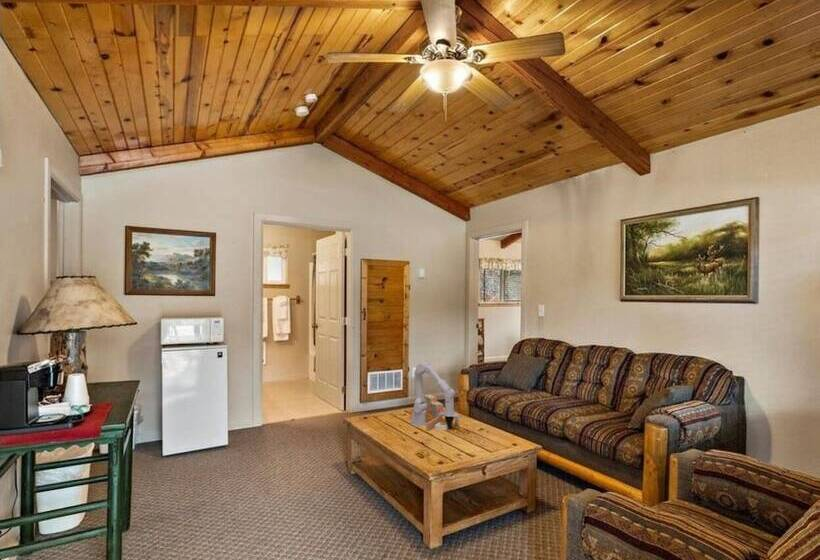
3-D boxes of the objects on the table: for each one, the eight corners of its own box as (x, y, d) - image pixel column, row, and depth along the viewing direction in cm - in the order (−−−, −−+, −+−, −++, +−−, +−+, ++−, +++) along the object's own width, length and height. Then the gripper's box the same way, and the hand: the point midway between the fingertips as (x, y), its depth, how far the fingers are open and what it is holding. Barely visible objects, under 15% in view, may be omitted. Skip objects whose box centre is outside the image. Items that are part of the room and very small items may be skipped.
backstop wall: (426, 430, 286) (426, 423, 286) (439, 422, 303) (439, 415, 303) (429, 431, 285) (429, 423, 285) (442, 422, 302) (442, 415, 302)
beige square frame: (434, 428, 289) (434, 424, 289) (440, 425, 296) (439, 421, 296) (445, 430, 285) (445, 426, 285) (450, 427, 292) (450, 423, 292)
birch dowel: (454, 426, 294) (454, 416, 294) (456, 425, 296) (455, 415, 296) (457, 427, 293) (457, 416, 293) (459, 426, 295) (459, 415, 295)
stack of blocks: (443, 416, 320) (443, 399, 320) (436, 417, 317) (436, 400, 317) (429, 409, 339) (429, 393, 339) (422, 410, 336) (422, 394, 336)
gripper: (437, 407, 289) (437, 427, 288) (457, 410, 282) (457, 431, 281) (441, 404, 295) (441, 424, 295) (461, 407, 288) (461, 428, 287)
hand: (449, 427), depth 288 cm, fingers closed
